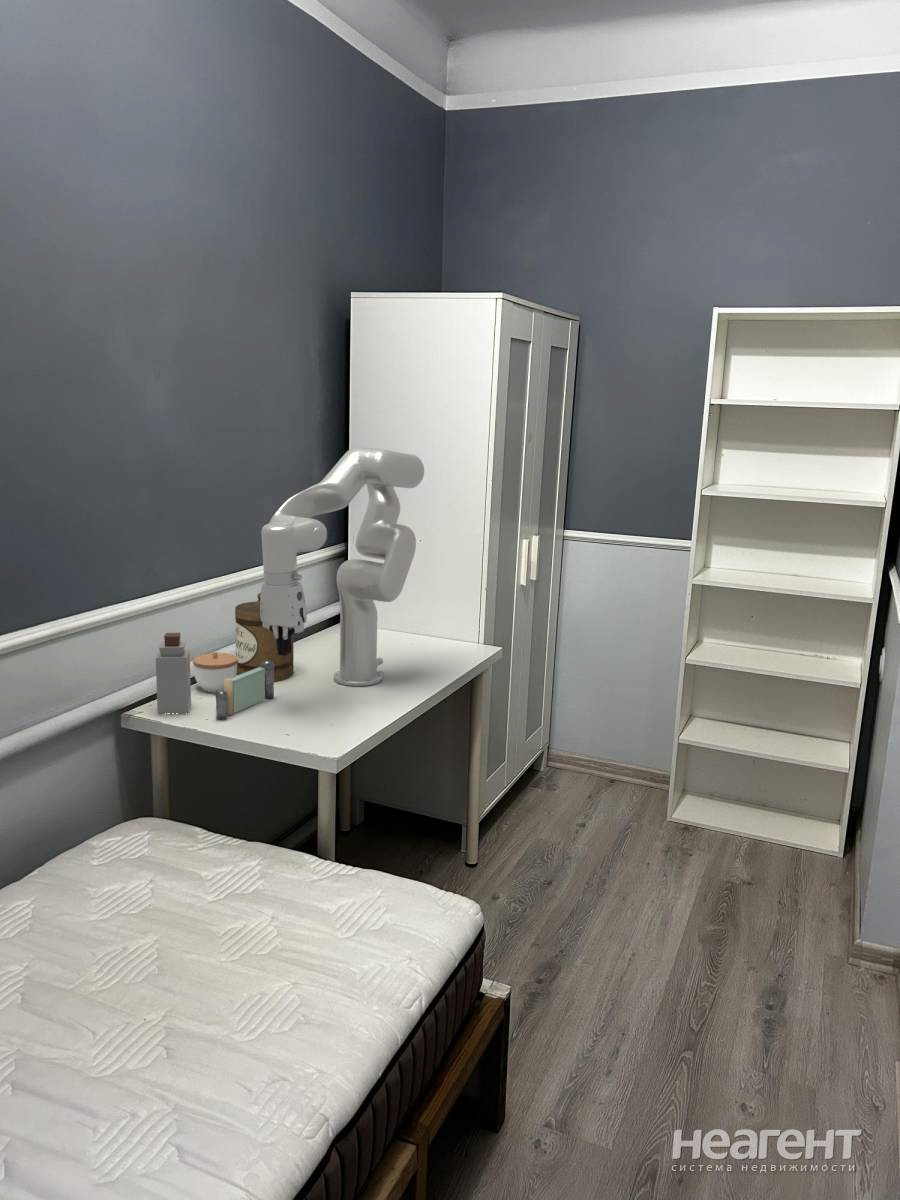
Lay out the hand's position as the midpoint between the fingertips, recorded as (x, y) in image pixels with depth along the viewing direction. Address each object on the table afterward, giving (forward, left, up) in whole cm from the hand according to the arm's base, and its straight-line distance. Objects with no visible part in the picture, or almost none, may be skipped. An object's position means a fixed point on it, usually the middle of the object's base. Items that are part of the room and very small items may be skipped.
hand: (284, 653), depth 217 cm
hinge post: (-4, -8, -13) cm, 16 cm away
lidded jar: (-3, -23, -14) cm, 27 cm away
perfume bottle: (+14, -21, -14) cm, 29 cm away
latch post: (+11, -9, -13) cm, 19 cm away
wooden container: (-19, -20, -14) cm, 31 cm away
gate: (+5, -8, -13) cm, 16 cm away
